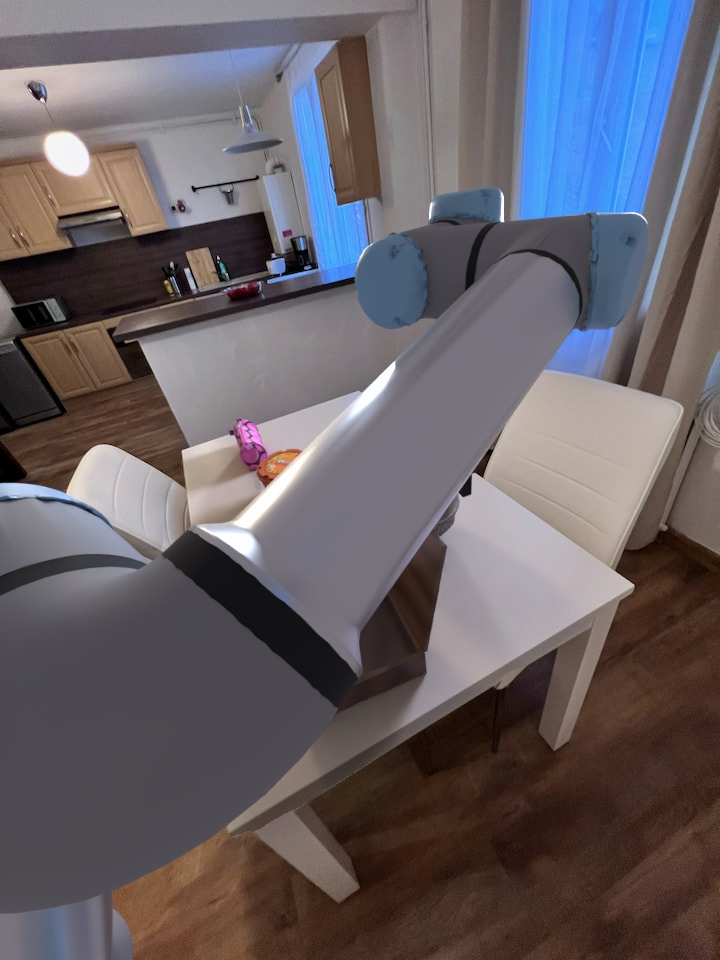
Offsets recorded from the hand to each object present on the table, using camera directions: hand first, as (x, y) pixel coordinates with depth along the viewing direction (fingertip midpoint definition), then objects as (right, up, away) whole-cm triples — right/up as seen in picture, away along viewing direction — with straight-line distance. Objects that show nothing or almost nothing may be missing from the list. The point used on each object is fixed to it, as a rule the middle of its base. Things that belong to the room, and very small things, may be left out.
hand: (462, 491), depth 63 cm
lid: (-9, -11, +3) cm, 15 cm away
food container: (-35, -2, +52) cm, 63 cm away
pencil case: (-53, +10, +73) cm, 91 cm away
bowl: (-3, -10, +33) cm, 35 cm away
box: (-18, -29, +11) cm, 36 cm away
